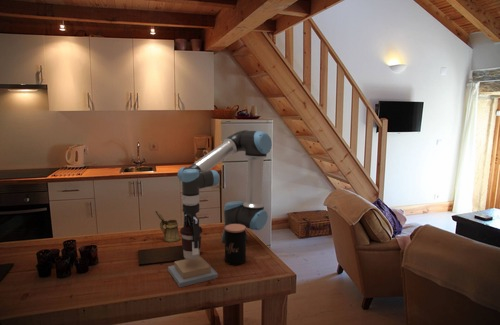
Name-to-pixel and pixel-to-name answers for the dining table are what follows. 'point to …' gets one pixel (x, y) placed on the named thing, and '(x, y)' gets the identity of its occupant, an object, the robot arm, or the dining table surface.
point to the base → (191, 280)
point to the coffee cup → (189, 242)
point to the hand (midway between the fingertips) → (191, 250)
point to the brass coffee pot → (169, 229)
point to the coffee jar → (235, 244)
